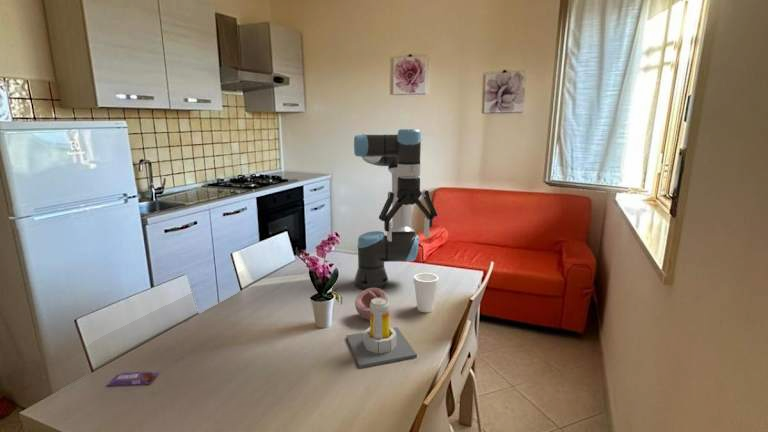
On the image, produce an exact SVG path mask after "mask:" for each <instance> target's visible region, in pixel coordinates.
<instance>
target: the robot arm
mask: <svg viewBox="0 0 768 432" xmlns="http://www.w3.org/2000/svg"><path fill="white" fill-rule="evenodd" d="M421 144H422V132H421V130H420V129H418V128H400V129H398V131H397V134H365V133H363V134H357V135H354V137H353V150H354V151H353V152H354V153H353V154H354V155H355V157H360V158H361V159H362V160H363V161H364V162H365V163H367V164H370V165H373V166H377V167H387V169H388V172H389V173H390V174H391V191H388V192H387V199H386V201H385V203H384V204H383V207H382V209H381V212H380V213H379V217H378V219H379V220H380V221H381V222H383V223H384V225H383V226H384V227H383V228H384V231H385V232H386V235H385V233H384V231H378V230H376V231H375V230H374V231H369V232H368V231H367V232H364V233H362V234H360V236H358V239H357V254H358V255H357V258H358V259H357V260H358V261H357V265H358V266H357V271H356V274H355V277H354V286H355V287H357V288H358V289H360V290H361V289H362V290H366V289H368V288H379V289H381V290H382V289H385V288H386V287H387V286H388V284H389V278H388V277H389V276H388V274H387V271H386V268H385V263H386V262H387V263H388V262H389V263H390V262H391V263H393V262H397V263H398V262H400V263H402V262H404V263H407V262H414V261H415V260H416V258H417V256H418V252H419V243H420V241H419V235H418V234H416V230H415V229H414V228H413V226H412V224H413V223H412V222H413V221H412V205H415V204H416V206H417V207H418V208H419V210H420V211H421V212H422V213H423V214H424V216H425V217H424V218H423V219H424V220H423V224H424V225H423V236H424V237H425V238H427V239H430V228H433V227H432V226H433V223H432V221H433V219H434V218H437V216H438V213H437V211H436V209H435V207H434V204H433V202H432V200H431V197H430V191H429V190H427V189H423V190H421V178H420V176H421V151H422V150H421V149H422V148H421V146H422V145H421ZM421 197H423V199H424V202H425V203H426V206H427V208H426V207H425V206H424V204H423V203H422V202H421V200H420V199H419V198H421ZM390 208H391V209H390Z"/></svg>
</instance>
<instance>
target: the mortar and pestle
mask: <svg viewBox="0 0 768 432" xmlns="http://www.w3.org/2000/svg"><path fill="white" fill-rule="evenodd" d="M379 297H381V298H386V299H387V300H388V296H387V294H386V292H385V291H384V290H382V288H381V289H379V288H368V289H363V290H362V291H361V292H360V293H359V294H358V295H357V296H356V298H355V302H354V303H355V304H354V305H355V306H354V307H355V310H356V311H357V313H358V314H359V316H360V317H361V318H363V319H365V320H369V321H370V303H371V300H372V299H374V298H379ZM388 301H389V300H388Z"/></svg>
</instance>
